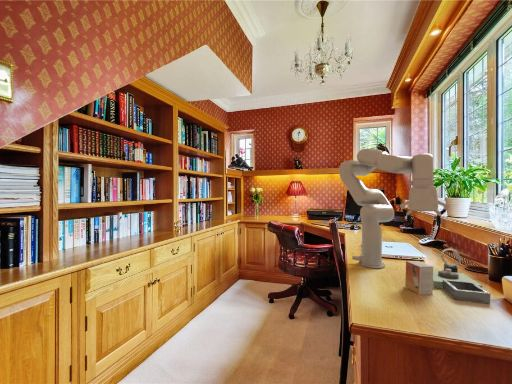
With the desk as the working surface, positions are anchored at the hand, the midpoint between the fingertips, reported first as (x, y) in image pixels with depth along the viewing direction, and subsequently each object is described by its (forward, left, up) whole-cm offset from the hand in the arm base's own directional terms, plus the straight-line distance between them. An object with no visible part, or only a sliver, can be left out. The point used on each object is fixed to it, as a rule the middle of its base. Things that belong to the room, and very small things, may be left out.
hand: (423, 225), depth 109 cm
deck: (+11, +5, -24) cm, 27 cm away
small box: (-4, -9, -25) cm, 27 cm away
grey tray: (+11, -9, -24) cm, 28 cm away
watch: (+18, +23, -25) cm, 38 cm away
